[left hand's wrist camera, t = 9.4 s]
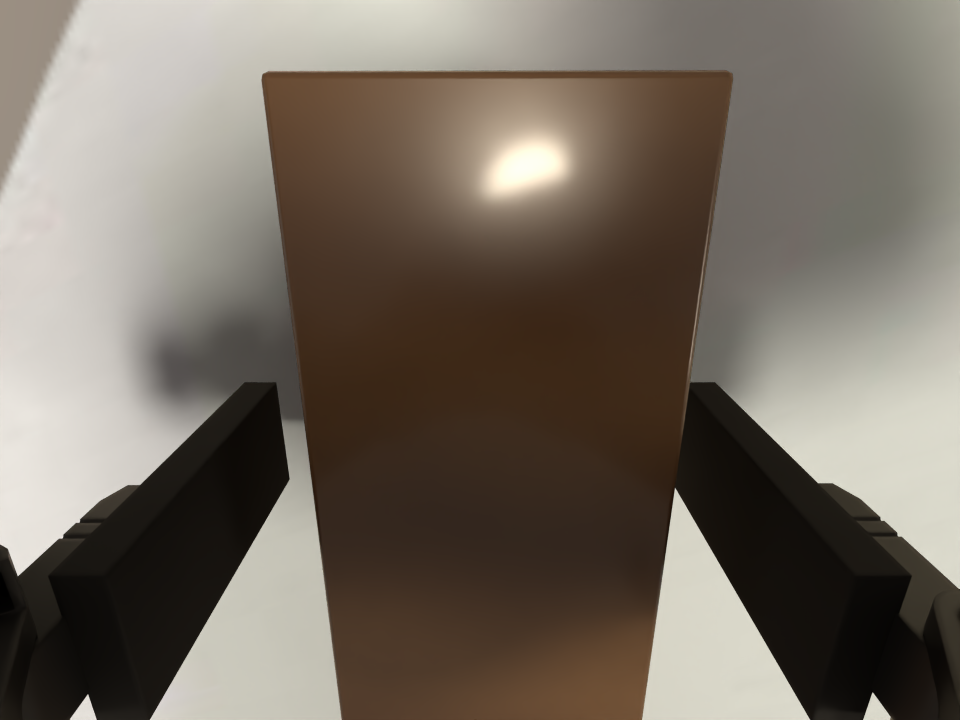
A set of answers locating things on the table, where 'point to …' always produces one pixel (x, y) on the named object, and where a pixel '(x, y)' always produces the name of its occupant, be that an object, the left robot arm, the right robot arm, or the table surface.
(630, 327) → the post
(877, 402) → the table surface
